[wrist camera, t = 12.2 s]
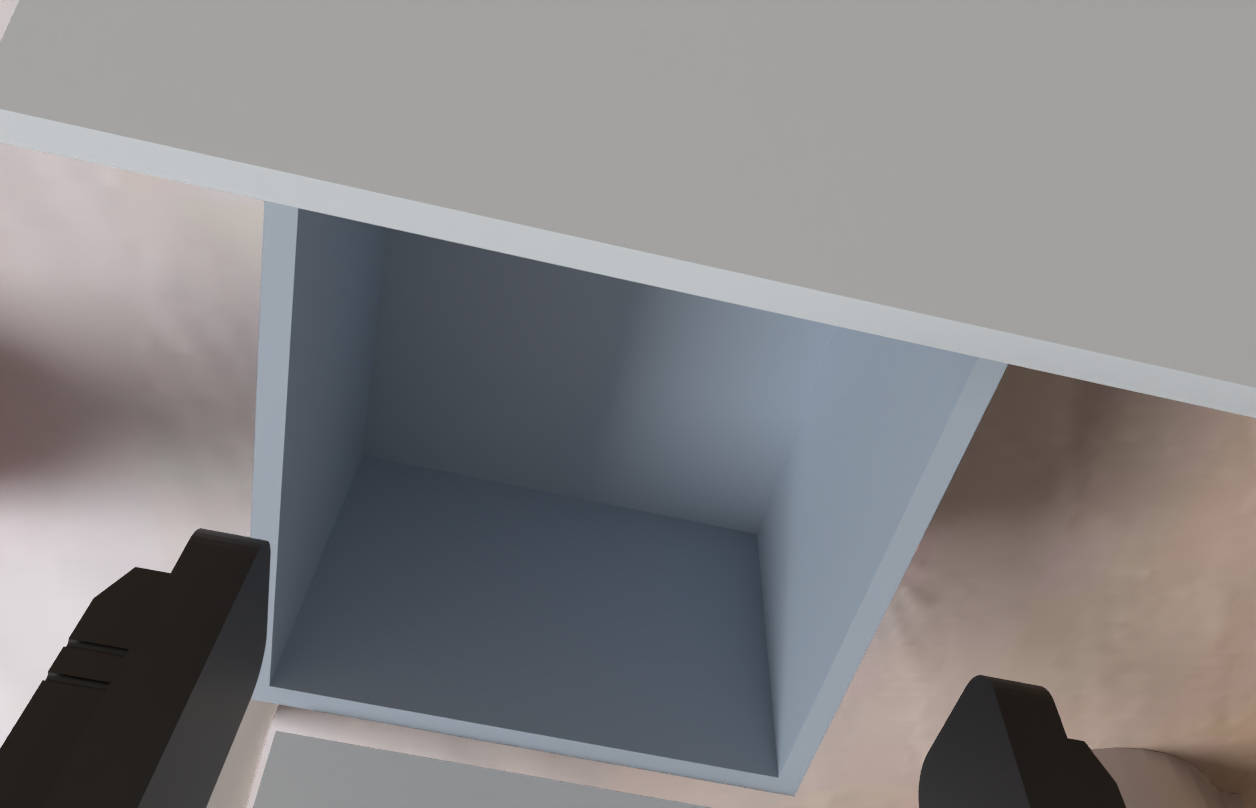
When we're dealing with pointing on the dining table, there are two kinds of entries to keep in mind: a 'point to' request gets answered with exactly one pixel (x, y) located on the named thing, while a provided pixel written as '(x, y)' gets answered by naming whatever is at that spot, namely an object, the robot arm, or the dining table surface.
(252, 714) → the drinking glass
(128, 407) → the dining table surface
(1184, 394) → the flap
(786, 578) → the carton
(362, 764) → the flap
